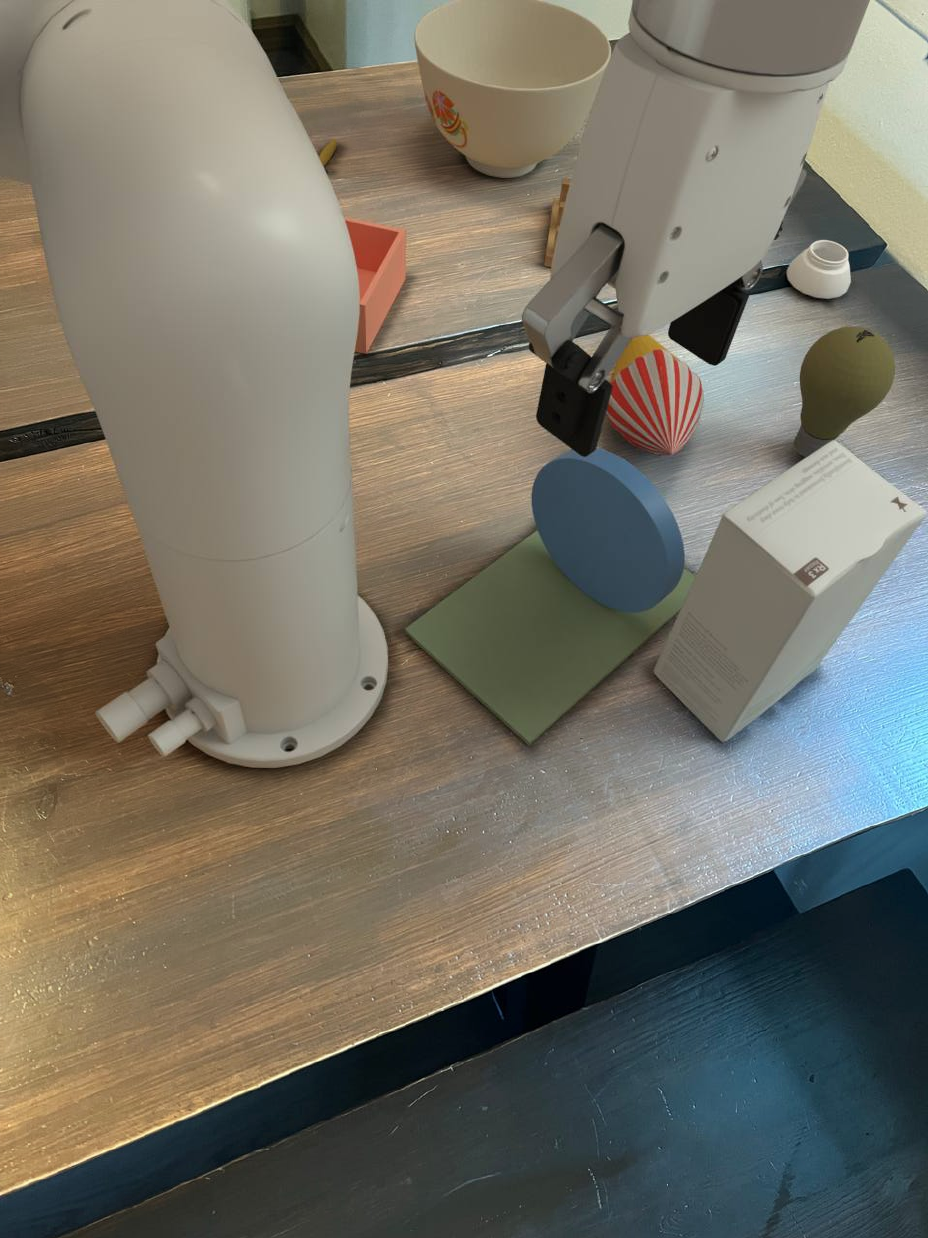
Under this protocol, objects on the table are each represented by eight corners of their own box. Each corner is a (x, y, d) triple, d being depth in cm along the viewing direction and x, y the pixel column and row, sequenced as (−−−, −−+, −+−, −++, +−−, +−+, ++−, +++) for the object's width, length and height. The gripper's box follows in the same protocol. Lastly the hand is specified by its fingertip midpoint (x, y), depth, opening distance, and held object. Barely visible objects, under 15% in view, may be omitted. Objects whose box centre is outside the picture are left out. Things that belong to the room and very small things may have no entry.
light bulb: (780, 414, 69) (833, 296, 61) (856, 444, 67) (920, 327, 59) (756, 462, 66) (808, 344, 58) (834, 494, 64) (899, 378, 56)
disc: (644, 642, 56) (690, 533, 48) (521, 541, 60) (544, 424, 52) (659, 629, 57) (706, 519, 49) (536, 530, 60) (561, 412, 52)
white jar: (826, 261, 80) (774, 269, 79) (840, 228, 78) (786, 236, 76) (858, 297, 77) (804, 306, 76) (873, 265, 75) (818, 274, 74)
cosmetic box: (742, 608, 58) (834, 428, 46) (819, 677, 56) (938, 505, 44) (645, 678, 55) (716, 503, 43) (722, 754, 53) (821, 591, 40)
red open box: (405, 278, 75) (407, 156, 67) (366, 353, 70) (363, 231, 62) (190, 230, 77) (167, 106, 69) (136, 299, 71) (104, 174, 63)
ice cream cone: (629, 370, 77) (673, 514, 62) (569, 325, 74) (600, 464, 59) (685, 310, 74) (746, 447, 59) (624, 261, 71) (672, 390, 56)
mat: (528, 745, 52) (529, 742, 52) (404, 632, 56) (404, 628, 56) (705, 588, 59) (707, 584, 59) (584, 497, 63) (585, 493, 63)
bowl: (394, 119, 89) (394, 0, 80) (557, 106, 92) (574, -10, 84) (437, 218, 80) (442, 96, 72) (615, 200, 83) (640, 81, 75)
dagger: (298, 211, 79) (275, 201, 79) (297, 220, 80) (275, 210, 80) (346, 141, 85) (325, 132, 84) (344, 150, 85) (323, 141, 85)
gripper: (800, -97, 37) (681, 284, 51) (486, 14, 29) (447, 430, 43) (973, -26, 34) (798, 357, 48) (679, 119, 26) (570, 527, 40)
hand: (632, 391), depth 46 cm, fingers open, 9 cm apart
